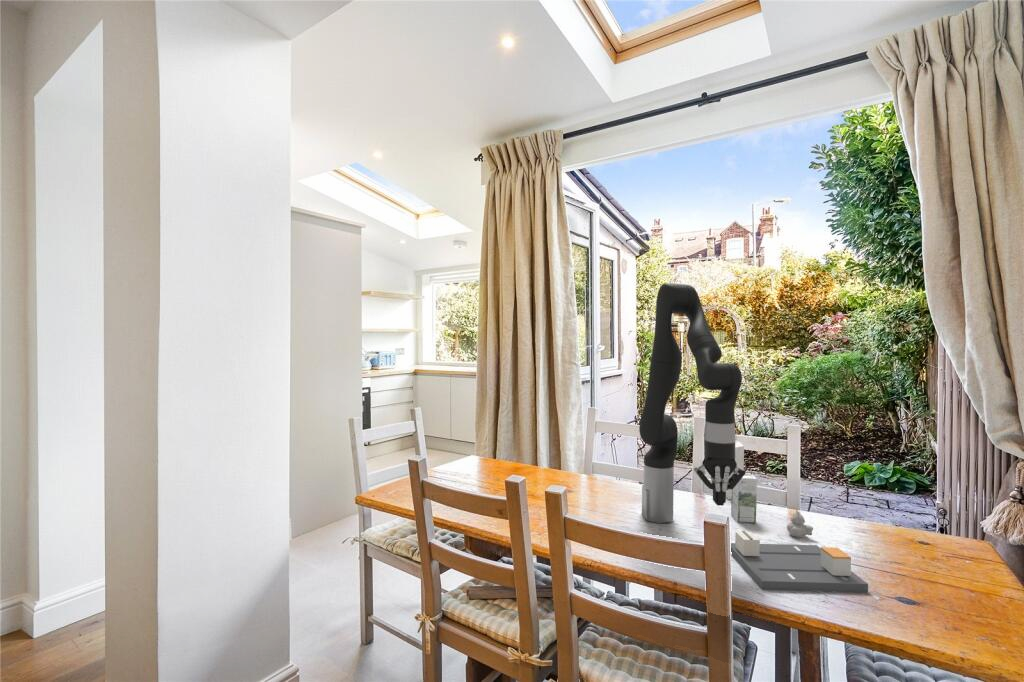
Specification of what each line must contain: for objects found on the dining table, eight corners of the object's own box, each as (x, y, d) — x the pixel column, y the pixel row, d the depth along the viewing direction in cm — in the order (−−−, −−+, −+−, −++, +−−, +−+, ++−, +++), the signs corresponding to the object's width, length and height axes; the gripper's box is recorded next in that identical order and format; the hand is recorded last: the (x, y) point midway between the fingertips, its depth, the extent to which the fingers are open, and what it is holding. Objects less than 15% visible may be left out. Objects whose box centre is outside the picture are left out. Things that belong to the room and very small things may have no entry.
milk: (743, 497, 173) (744, 437, 172) (732, 500, 170) (734, 439, 169) (728, 492, 178) (729, 434, 177) (718, 495, 175) (719, 435, 174)
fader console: (761, 589, 111) (761, 580, 111) (726, 550, 131) (727, 542, 131) (868, 592, 109) (868, 583, 109) (816, 552, 129) (816, 544, 129)
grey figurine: (788, 530, 144) (788, 504, 143) (814, 536, 140) (814, 509, 139) (785, 536, 139) (785, 509, 139) (811, 543, 135) (812, 515, 135)
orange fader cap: (833, 575, 113) (833, 556, 113) (820, 565, 118) (820, 547, 118) (850, 575, 113) (851, 557, 112) (837, 565, 118) (837, 547, 117)
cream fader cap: (743, 555, 122) (743, 538, 122) (735, 547, 127) (735, 530, 127) (759, 556, 122) (759, 538, 122) (750, 547, 127) (750, 530, 127)
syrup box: (749, 516, 155) (749, 472, 154) (756, 523, 149) (757, 477, 148) (730, 515, 155) (731, 471, 155) (737, 523, 149) (738, 477, 149)
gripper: (699, 441, 121) (698, 509, 122) (751, 442, 121) (751, 510, 121) (689, 435, 129) (689, 499, 129) (738, 436, 128) (738, 499, 128)
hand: (719, 504), depth 125 cm, fingers closed
